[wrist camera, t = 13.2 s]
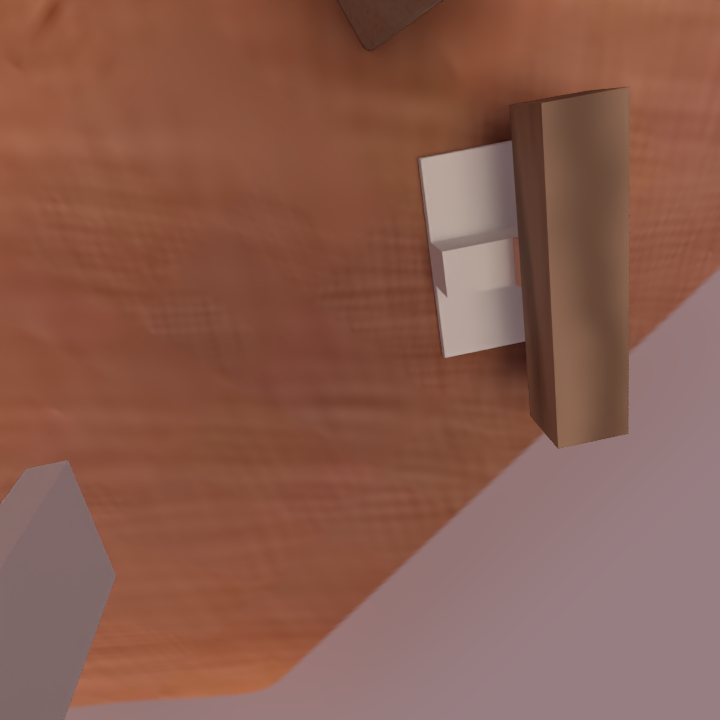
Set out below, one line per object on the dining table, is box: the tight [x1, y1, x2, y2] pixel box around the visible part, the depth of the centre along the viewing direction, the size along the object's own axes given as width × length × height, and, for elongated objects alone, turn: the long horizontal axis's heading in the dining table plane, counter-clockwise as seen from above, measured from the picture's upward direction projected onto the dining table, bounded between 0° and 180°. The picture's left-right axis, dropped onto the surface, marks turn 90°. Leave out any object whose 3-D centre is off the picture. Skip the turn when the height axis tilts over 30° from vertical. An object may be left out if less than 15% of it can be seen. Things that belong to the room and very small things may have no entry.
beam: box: [509, 87, 630, 449], centre depth 40 cm, size 5×22×5 cm, turn 10°
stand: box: [418, 140, 525, 358], centre depth 45 cm, size 14×16×8 cm
